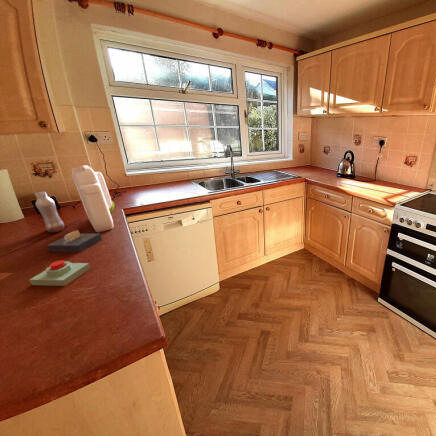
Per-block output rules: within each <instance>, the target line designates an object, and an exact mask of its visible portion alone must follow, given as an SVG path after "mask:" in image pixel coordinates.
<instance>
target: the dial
mask: <svg viewBox="0 0 436 436" xmlns="http://www.w3.org/2000/svg"><path fill="white" fill-rule="evenodd" d="M80 234H81V233H80V231H79V230H78V229H74V230H73V231H71V232H69V233H66V234H65V235H64V237H66V239H67V242H71V241H73V240H75V239H77V238H79V237H81V236H80Z"/></svg>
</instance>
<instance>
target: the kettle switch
mask: <svg viewBox="0 0 436 436" xmlns="http://www.w3.org/2000/svg"><path fill="white" fill-rule="evenodd" d="M64 262H65V260H61V259H60V260H56V261H53V262H52V263H50V264H49V267H51V269H52V270H57V269H60V268H63V267H64V266H66V265H65V263H64Z"/></svg>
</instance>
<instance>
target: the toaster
mask: <svg viewBox="0 0 436 436" xmlns="http://www.w3.org/2000/svg"><path fill="white" fill-rule="evenodd" d="M70 172H71V177H72V180H73V183H74V186H75V188H76V191H77V193H78V196H79V199H80V201H81V204H82V206H83V209H84V211H85V213H86V217H87V218H88V220H89V222H90V224H91V226H92V229H94V231H95V232H96V233H102V232H105V231H109V230H113V229H114V220H113V217H112V215H111V214H112V213H111V214H110V211H109V208H111V206H112V202H111V201H112V199H111V195H110V192H109V189H108V186H107V183H106V181H105V177H104V176H103V175H104V174H103V173H102V171H94V170H93V169H92V168H91V167H90V165H89V166H88V165H87V164H85V165H80V166H78V167H77V166H76V167H72V168H71V171H70Z"/></svg>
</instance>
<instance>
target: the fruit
mask: <svg viewBox="0 0 436 436" xmlns="http://www.w3.org/2000/svg"><path fill="white" fill-rule="evenodd" d="M111 202H112V206H111V208H109V211H110V214H113V212H114V210H115V202H114V201H113V200H111Z"/></svg>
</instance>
